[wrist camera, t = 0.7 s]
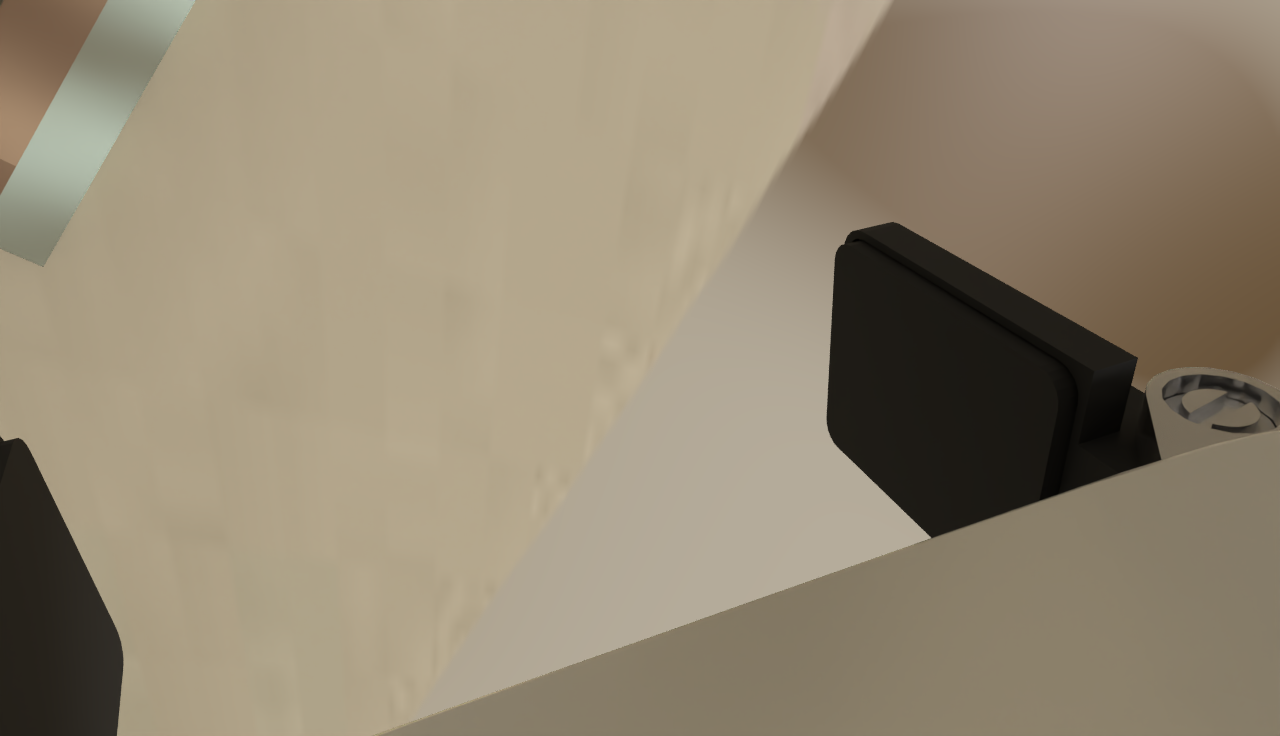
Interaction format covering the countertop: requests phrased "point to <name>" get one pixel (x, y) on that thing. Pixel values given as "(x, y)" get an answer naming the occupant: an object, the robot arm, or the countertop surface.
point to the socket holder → (68, 103)
